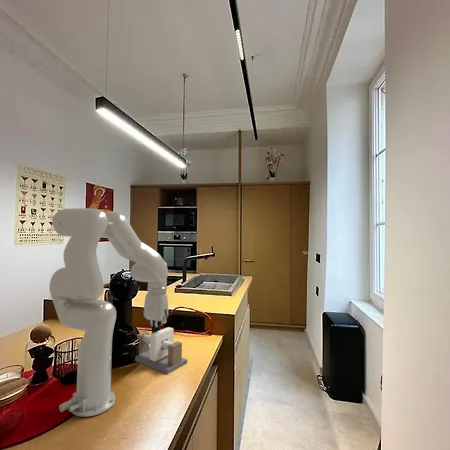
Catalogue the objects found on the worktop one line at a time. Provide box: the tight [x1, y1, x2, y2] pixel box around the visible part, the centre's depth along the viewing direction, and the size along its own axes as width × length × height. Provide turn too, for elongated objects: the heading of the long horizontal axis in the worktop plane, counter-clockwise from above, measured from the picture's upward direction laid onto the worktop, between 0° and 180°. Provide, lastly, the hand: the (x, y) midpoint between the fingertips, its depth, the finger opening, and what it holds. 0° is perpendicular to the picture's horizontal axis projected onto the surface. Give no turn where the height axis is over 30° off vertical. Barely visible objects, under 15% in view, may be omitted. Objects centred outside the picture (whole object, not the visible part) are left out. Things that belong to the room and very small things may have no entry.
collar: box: [149, 326, 175, 361], centre depth 118 cm, size 10×3×10 cm, turn 147°
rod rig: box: [134, 331, 188, 375], centre depth 119 cm, size 11×22×9 cm, turn 57°
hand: (155, 335), depth 120 cm, fingers closed
